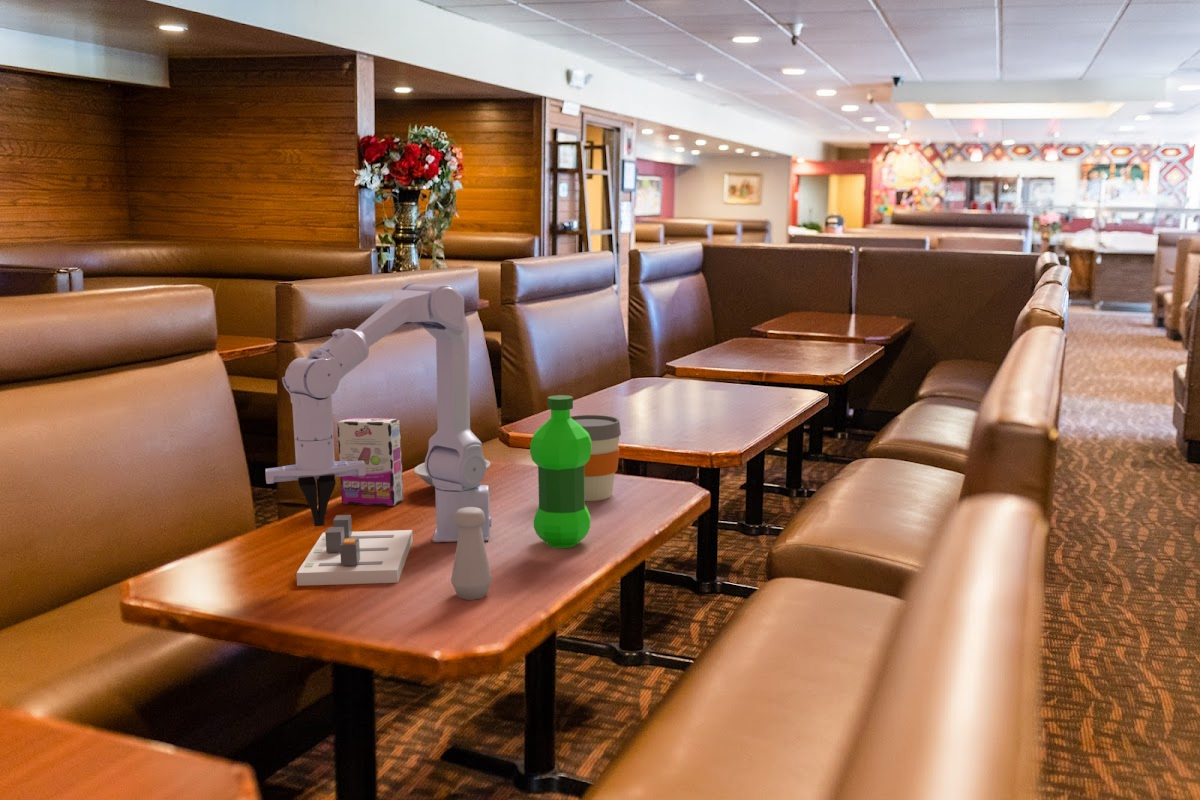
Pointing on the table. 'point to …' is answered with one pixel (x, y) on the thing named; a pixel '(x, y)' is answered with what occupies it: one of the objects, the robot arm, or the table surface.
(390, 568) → the breaker panel
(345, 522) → the far breaker
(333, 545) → the middle breaker
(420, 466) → the dish
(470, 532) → the salt shaker
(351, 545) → the block
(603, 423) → the reusable coffee cup
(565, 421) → the plastic bottle
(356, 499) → the candy bar box
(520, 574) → the table surface
